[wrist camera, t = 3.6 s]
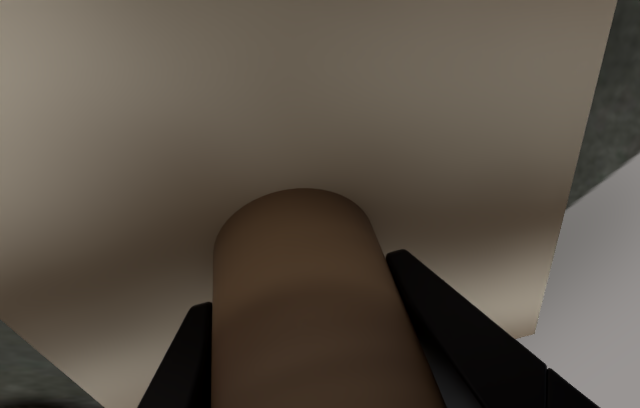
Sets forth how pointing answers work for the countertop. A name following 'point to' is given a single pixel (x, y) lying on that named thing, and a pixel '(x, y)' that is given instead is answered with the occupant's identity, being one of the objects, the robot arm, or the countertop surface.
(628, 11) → the countertop surface
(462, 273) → the board
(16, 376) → the countertop surface
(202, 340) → the robot arm
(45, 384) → the countertop surface
